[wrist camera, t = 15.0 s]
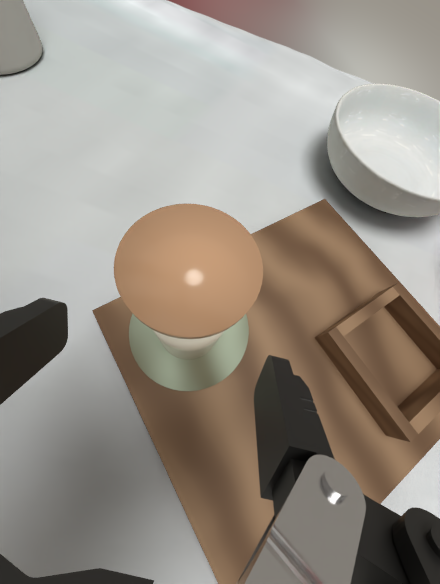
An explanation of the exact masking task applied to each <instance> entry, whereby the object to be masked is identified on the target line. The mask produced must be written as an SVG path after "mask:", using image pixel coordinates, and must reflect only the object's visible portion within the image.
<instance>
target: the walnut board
mask: <svg viewBox="0 0 440 584" xmlns="http://www.w3.org/2000/svg"><path fill="white" fill-rule="evenodd" d="M251 236H252V237H253V239H254V240H255V242H256V244H257V246H258V248H259V251H260V254H261V258H262V263H263V280H262V285H261V289H260V292H259V294H258V297H257V299H256V301H255V302H254V304H253V305H252V307H251V308H250V309H249V311H248V312H247V313H246V314H245V315H244V316H243V318H242V319H240V320H239V321H238V322H237V323H236V324H235V325H233V326H232V327H230V328H229V329H227V330H225V331H224V332H223V334H222V335H221V336H220V338H219V339H218V341H217V342H216V343H215V345H214V346H213V347H212V349H211V350H210V351H209V352H208V353H206V354H205V355H204V356H202V357H199V358H197V359H191V360H185V359H180V358H177V357H175V356H173V355H171V354H170V353H169V352H168V351H167V350H166V349H165V348H164V346H163V345H162V343H161V342H160V340H159V339H158V337H157V336H156V334H155V333H154V331H153V330H152V329H150V328H149V327H147V326H146V325H145V324H143V323H142V322H141V321H140V320H139V319H137V318H136V317H135V316H134V314H133V313H132V312H131V311H130V309H129V308H128V307H127V306H126V304H125V303H124V301H123V299H122V298H121V297H119V298H117V299H115V300H113V301H111V302H109V303H107V304H105V305H103V306H101V307H99V308H97V309H95V310H92V311H93V313H94V315H95V318H96V320H97V322H98V324H99V326H100V328H101V331H102V333H103V335H104V337H105V339H106V341H107V344H108V346H109V348H110V350H111V352H112V354H113V356H114V359H115V361H116V363H117V365H118V367H119V369H120V372H121V374H122V376H123V378H124V380H125V382H126V385H127V387H128V389H129V391H130V393H131V395H132V398H133V400H134V402H135V404H136V406H137V408H138V411H139V413H140V415H141V417H142V419H143V421H144V424H145V426H146V428H147V430H148V432H149V434H150V437H151V439H152V441H153V443H154V445H155V447H156V450H157V452H158V454H159V456H160V458H161V460H162V462H163V465H164V467H165V469H166V471H167V473H168V475H169V478H170V480H171V482H172V484H173V486H174V488H175V491H176V493H177V495H178V497H179V499H180V501H181V504H182V506H183V508H184V510H185V512H186V514H187V517H188V519H189V521H190V523H191V525H192V527H193V530H194V532H195V534H196V536H197V538H198V540H199V543H200V545H201V547H202V549H203V551H204V553H205V556H206V558H207V560H208V562H209V564H210V566H211V568H212V571H213V573H214V575H215V577H216V579H217V581H218V584H236V583H237V581H238V579H239V577H240V575H241V573H242V572H243V570H244V568H245V566H246V564H247V563H248V561H249V559H250V557H251V555H252V553H253V552H254V550H255V548H256V546H257V544H258V542H259V541H260V539H261V537H262V535H263V533H264V532H265V530H266V528H267V526H268V524H269V522H270V521H271V519H272V517H273V516H274V506H273V501H272V500H268V499H264V498H261V496H260V482H259V468H258V454H257V440H256V425H255V411H254V391H255V386H256V383H257V381H258V378H259V376H260V373H261V371H262V368H263V366H264V363H265V361H266V358H267V357H268V356H269V355H272V356H276V357H280V358H284V359H288V360H289V362H290V365H291V368H292V371H293V374H294V375H297V376H300V377H301V378H302V380H303V381H304V382H305V384H306V385H307V386H308V387H309V390H310V392H311V395H312V398H313V403H315V406H316V409H317V414H319V417H320V420H321V423H322V425H323V428H324V431H325V434H326V437H327V439H328V442H329V445H330V448H331V450H332V453H333V456H334V458H335V460H336V461H338V462H339V463H340V464H342V465H343V466H344V467H345V468H346V469H347V470H348V471H349V472H350V473H351V474H352V475H353V477H354V478H355V479H356V481H357V483H358V484H359V486H360V488H361V490H362V492H363V494H364V495H366V496H367V497H369V498H370V499H372V500H374V501H376V502H377V503H379V504H381V502H382V501H383V500H384V499H385V498H386V497H387V496H388V495H389V494H390V493H391V492H392V490H393V489H394V488H395V487H396V486H397V485H398V484H399V483H400V482H401V481H402V480H403V478H404V477H405V476H406V475H407V474H408V473H409V472H410V471H411V470H412V469H413V468H414V466H415V465H416V464H417V463H418V462H419V461H420V460H421V459H422V458H423V457H424V456H425V454H426V453H427V452H428V451H429V450H430V449H431V448H432V447H433V446H434V445H435V444H436V442H437V441H438V440H439V439H440V326H439V325H438V324H437V323H436V322H435V321H434V319H433V318H432V317H431V316H430V315H429V314H428V313H427V312H426V311H425V309H424V308H423V307H422V306H421V305H420V304H419V303H418V302H417V301H416V299H415V298H414V297H413V296H412V295H411V294H410V293H409V292H408V291H407V289H406V288H405V287H404V286H403V285H402V284H401V283H400V282H399V281H398V279H397V278H396V277H395V276H394V275H393V274H392V273H391V272H390V271H389V269H388V268H387V267H386V266H385V265H384V264H383V263H382V262H381V261H380V259H379V258H378V257H377V256H376V255H375V254H374V253H373V252H372V251H371V249H370V248H369V247H368V246H367V245H366V244H365V243H364V242H363V241H362V239H361V238H360V237H359V236H358V235H357V234H356V233H355V232H354V231H353V230H352V228H351V227H350V226H349V225H348V224H347V223H346V222H345V221H344V220H343V218H342V217H341V216H340V215H339V214H338V213H337V212H336V211H335V210H334V208H333V207H332V206H331V205H330V204H329V203H328V202H327V201H326V200H325V199H323V200H321V201H319V202H317V203H315V204H313V205H311V206H309V207H307V208H305V209H303V210H301V211H299V212H296V213H294V214H292V215H290V216H288V217H286V218H284V219H282V220H280V221H278V222H276V223H274V224H271V225H269V226H267V227H265V228H263V229H261V230H259V231H257V232H255V233H253V234H251Z"/></svg>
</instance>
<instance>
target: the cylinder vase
mask: <svg viewBox="0 0 440 584" xmlns="http://www.w3.org/2000/svg"><path fill="white" fill-rule="evenodd" d="M41 54H42V43H41V40H40V38H39V36H38V33H37V31H36V29H35V27H34V24H33V22H32V20H31V18H30V15H29V13H28V11H27V9H26V6H25V4H24V2H23V0H0V75H6V74H12V73H16V72H20V71H23V70H25V69H27V68H29V67H31V66H32V65H34V64H35V63H36V62H37V61H38V60H39V58H40V57H41Z"/></svg>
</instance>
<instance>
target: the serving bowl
mask: <svg viewBox="0 0 440 584" xmlns="http://www.w3.org/2000/svg"><path fill="white" fill-rule="evenodd" d="M327 149H328V156H329V160H330V163H331V166H332V168H333V170H334V172H335V174H336V176H337V177H338V179H339V180H340V181H341V183H342V184H343V185H344V186H345V187H346V188H347V189H348V190H349V191H350V192H351V193H352V194H353V195H354V196H356V197H357V198H358V199H360V200H361V201H363V202H364V203H366V204H368V205H370V206H372V207H374V208H376V209H378V210H381V211H384V212H387V213H390V214H394V215H399V216H406V217H427V216H434V215H439V214H440V101H438V100H436V99H434V98H432V97H430V96H428V95H425V94H423V93H421V92H418V91H415V90H412V89H409V88H405V87H401V86H396V85H389V84H367V85H362V86H359V87H356V88H354V89H352V90H350V91H348V92H347V93H346V94H344V95H343V96H342V98H341V99H340V100H339V102H338V104H337V106H336V109H335V111H334V114H333V116H332V119H331V122H330V126H329V130H328V137H327Z"/></svg>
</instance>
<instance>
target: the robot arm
mask: <svg viewBox="0 0 440 584" xmlns="http://www.w3.org/2000/svg"><path fill="white" fill-rule="evenodd" d="M67 339H68V318H67V306H66V304H65V303H62V302H58V301H54V300H50V299H46V298H40V299H38V300H36V301H34V302H32V303H30V304H28V305H26V306H24V307H20V308H17V309H13V310H9V311H5V312H3V313H1V314H0V404H2V403H3V402H4V401H5V400H6V399H7V398H8V397H10V396H11V395H12V394H13V393H14V392H15V391H16V390H18V389H19V388H20V387H21V386H22V385H23V384H25V383H26V382H27V381H28V380H29V379H30V378H31V377H33V376H34V375H35V374H36V373H37V372H38V371H39V370H41V369H42V368H43V367H44V366H45V365H46V364H47V363H49V362H50V361H51V360H52V359H53V358H54V357H55V356H57V355H58V354H59V353H60V352H61V351H62V350H63V348H64V347H65V345H66V342H67ZM254 411H255V425H256V440H257V454H258V468H259V482H260V496H261V498H264V499H268V500H272V501H273V506H274V516H273V517H272V519H271V521H270V522H269V524H268V526H267V528H266V530H265V532H264V533H263V535H262V537H261V539H260V541H259V542H258V544H257V546H256V548H255V550H254V552H253V553H252V555H251V557H250V559H249V561H248V563H247V564H246V566H245V568H244V570H243V572H242V573H241V575H240V577H239V579H238V581H237V583H236V584H440V519H439V518H438V517H436V516H435V515H433V514H432V513H430V512H428V511H426V510H423V509H420V508H410V509H408V510H407V511H406V512H405V513H404V514H403V515H402V516H400V515H398V514H396V513H395V512H393V511H391V510H389V509H388V508H386V507H384V506H382V505H381V504H379V503H377V502H376V501H374V500H372V499H370V498H369V497H367V496H366V495H364V494H363V492H362V490H361V488H360V486H359V484H358V483H357V481H356V479H355V478H354V477H353V475H352V474H351V473H350V472H349V471H348V470H347V469H346V468H345V467H344V466H343V465H342V464H340V463H339V462H338V461H336V460H335V458H334V456H333V453H332V450H331V448H330V445H329V442H328V439H327V437H326V434H325V431H324V428H323V425H322V423H321V420H320V417H319V414H317V409H316V406H315V403H313V398H312V395H311V392H310V390H309V387H308V386H307V385H306V384H305V382H304V381H303V380H302V378H301V377H300V376H297V375H294V374H293V371H292V368H291V365H290V362H289V360H288V359H284V358H280V357H276V356H272V355H269V356H268V357H267V358H266V361H265V363H264V366H263V368H262V371H261V373H260V376H259V378H258V381H257V383H256V386H255V391H254ZM153 582H154V580H149V579H145V578H141V577H136V576H132V575H127V574H123V573H118V572H114V571H110V570H105V569H101V568H99V569H92V570H86V571H79V572H73V573H66V574H59V575H53V576H46V577H40V578H32V577H29V576H27V575H25V574H24V573H23V572H22V571H20V570H19V569H18V568H17V567H15V566H14V565H13V564H12V563H11V562H9V561H8V560H7V559H6V558H4V557H3V556H2V555H1V554H0V584H153Z"/></svg>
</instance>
